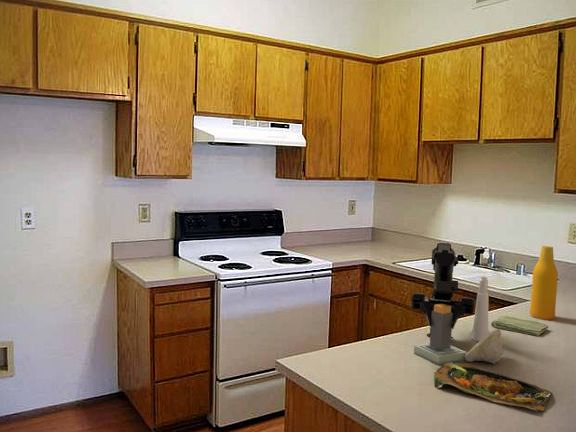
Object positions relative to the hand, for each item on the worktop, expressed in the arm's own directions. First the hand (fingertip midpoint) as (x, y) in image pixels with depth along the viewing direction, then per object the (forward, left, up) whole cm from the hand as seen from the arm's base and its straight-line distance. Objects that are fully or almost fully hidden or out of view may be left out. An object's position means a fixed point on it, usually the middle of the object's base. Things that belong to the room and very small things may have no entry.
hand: (441, 327), depth 163 cm
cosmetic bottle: (-9, +27, -10) cm, 30 cm away
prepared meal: (+23, -4, -10) cm, 26 cm away
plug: (-1, +1, -7) cm, 7 cm away
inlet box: (-1, +1, -10) cm, 10 cm away
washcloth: (-13, +52, -10) cm, 54 cm away
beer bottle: (-21, +75, -10) cm, 78 cm away
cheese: (+6, +13, -10) cm, 18 cm away
